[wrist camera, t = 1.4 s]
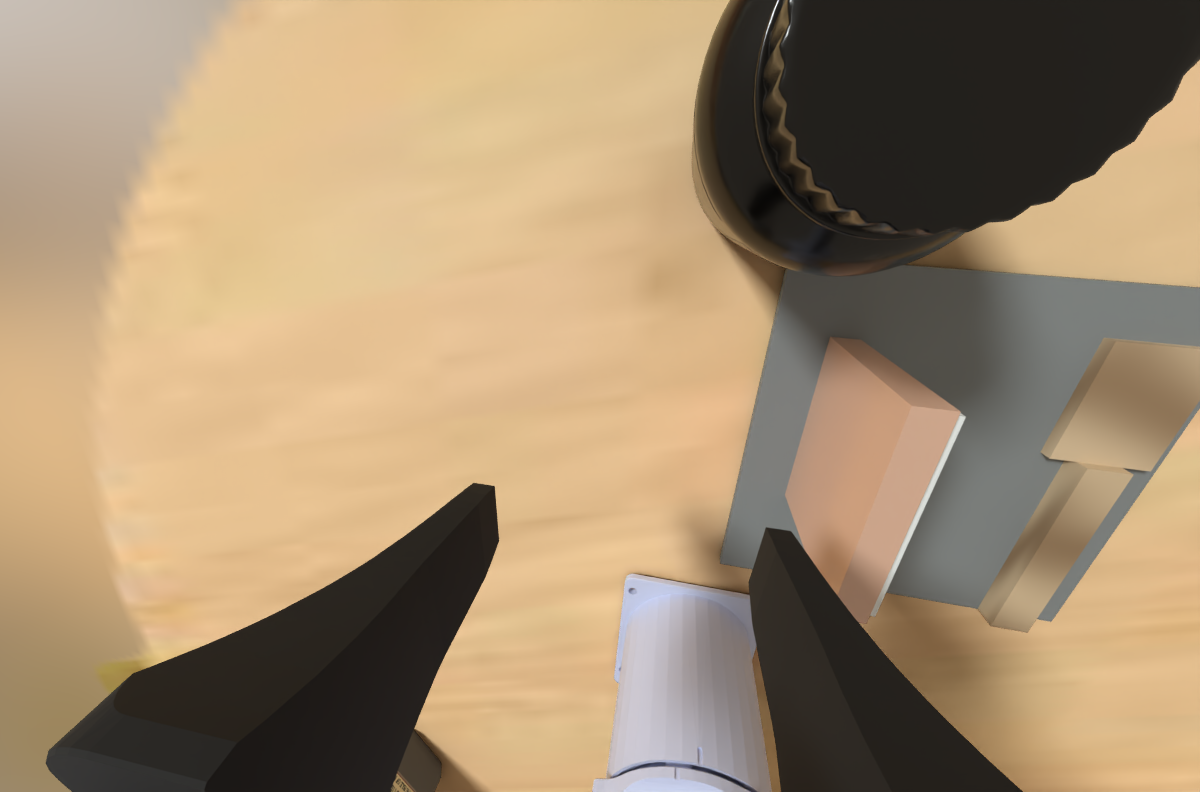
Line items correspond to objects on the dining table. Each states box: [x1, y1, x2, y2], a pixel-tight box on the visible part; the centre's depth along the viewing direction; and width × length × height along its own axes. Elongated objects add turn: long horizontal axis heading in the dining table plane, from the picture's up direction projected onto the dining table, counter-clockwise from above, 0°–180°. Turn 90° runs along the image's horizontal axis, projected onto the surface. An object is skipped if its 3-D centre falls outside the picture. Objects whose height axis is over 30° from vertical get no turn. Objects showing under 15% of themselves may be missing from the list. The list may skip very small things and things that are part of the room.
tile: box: [785, 337, 966, 624], centre depth 16 cm, size 8×2×7 cm, turn 176°
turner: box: [978, 338, 1200, 633], centre depth 18 cm, size 14×4×1 cm, turn 176°
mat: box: [720, 265, 1200, 621], centre depth 19 cm, size 16×16×1 cm
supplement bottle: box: [692, 0, 1200, 277], centre depth 11 cm, size 7×7×12 cm
